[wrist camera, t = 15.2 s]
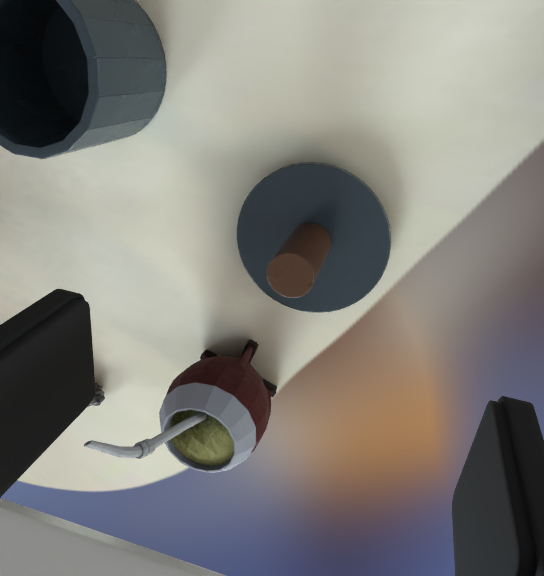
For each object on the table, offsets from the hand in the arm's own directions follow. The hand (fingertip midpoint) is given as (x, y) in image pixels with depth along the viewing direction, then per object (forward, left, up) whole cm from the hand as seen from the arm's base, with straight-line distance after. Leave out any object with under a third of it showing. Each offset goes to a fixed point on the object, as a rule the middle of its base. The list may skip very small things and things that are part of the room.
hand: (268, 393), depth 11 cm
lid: (+4, -3, -21) cm, 21 cm away
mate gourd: (+15, -7, -22) cm, 27 cm away
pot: (-5, -18, -22) cm, 28 cm away
